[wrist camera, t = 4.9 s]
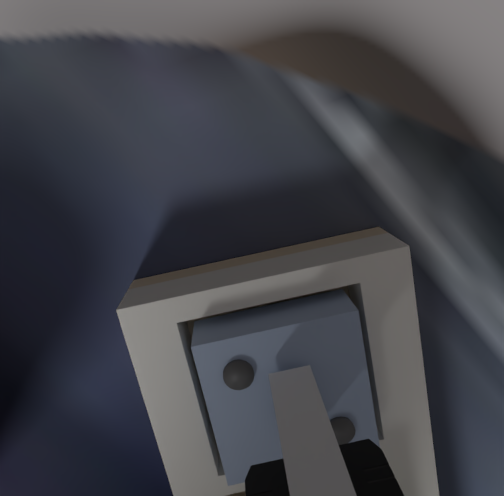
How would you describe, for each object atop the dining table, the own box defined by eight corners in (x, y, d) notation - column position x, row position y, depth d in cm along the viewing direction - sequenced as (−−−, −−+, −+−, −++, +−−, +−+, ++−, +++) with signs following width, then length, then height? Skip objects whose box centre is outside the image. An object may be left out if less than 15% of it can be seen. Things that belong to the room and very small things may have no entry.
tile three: (227, 447, 20) (228, 489, 17) (194, 321, 18) (190, 349, 16) (363, 416, 20) (382, 455, 17) (342, 288, 18) (360, 312, 16)
